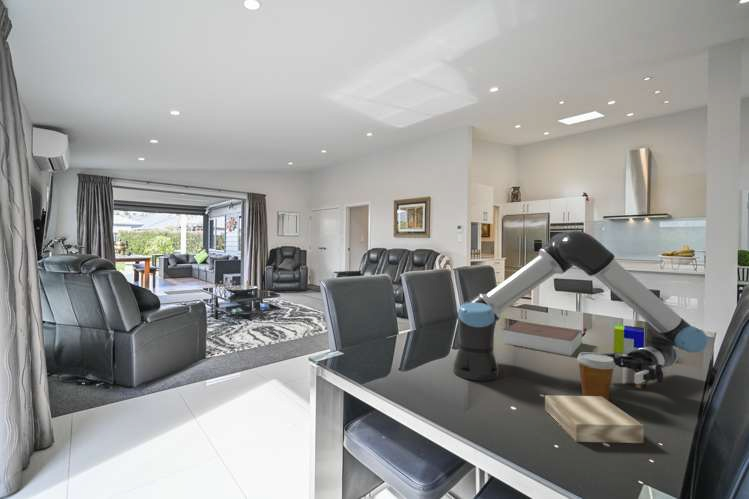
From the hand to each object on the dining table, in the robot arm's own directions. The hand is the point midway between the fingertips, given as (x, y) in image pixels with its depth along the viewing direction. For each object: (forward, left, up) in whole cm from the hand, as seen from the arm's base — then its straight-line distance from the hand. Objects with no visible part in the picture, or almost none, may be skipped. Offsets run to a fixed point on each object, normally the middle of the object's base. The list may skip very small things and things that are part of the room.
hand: (609, 371), depth 104 cm
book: (+4, +53, -8) cm, 54 cm away
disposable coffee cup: (-6, -3, -7) cm, 10 cm away
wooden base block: (-17, -19, -7) cm, 27 cm away
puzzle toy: (+36, +43, -7) cm, 56 cm away
